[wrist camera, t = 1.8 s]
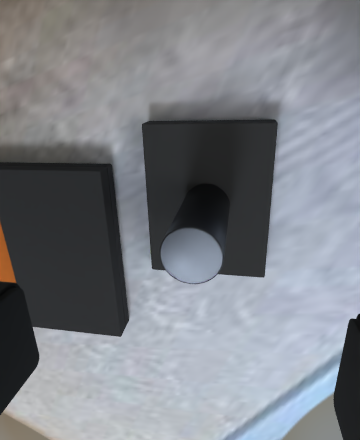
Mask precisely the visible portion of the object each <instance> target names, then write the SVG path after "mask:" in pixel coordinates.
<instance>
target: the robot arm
mask: <svg viewBox="0 0 360 440" xmlns="http://www.w3.org/2000/svg"><path fill="white" fill-rule="evenodd" d="M38 362H39V352H38V348H37V344H36V340H35V336H34V331H33V327H32V323H31V319H30V315H29V311H28V306H27V302H26V298H25V294H24V291H23V289H21V288H20V286H19V285H18V284H17V283H13V282H1V281H0V415H1V413H2V412H3V411H4V409H5V408H6V407H7V406H8V404H9V403H10V402H11V400H12V399H13V398H14V396H15V395H16V394H17V392H18V391H19V390H20V388H21V387H22V386H23V384H24V383H25V382H26V380H27V379H28V378H29V376H30V375H31V374H32V372H33V371H34V370H35V368H36V367H37V365H38ZM334 407H335V412H336V416H337V419H338V423H339V426H340V430H341V433H342V437H343V440H360V314H358V316H357V318H356V319H350V320H349V324H348V328H347V333H346V338H345V343H344V348H343V353H342V358H341V362H340V367H339V372H338V377H337V382H336V387H335V392H334Z"/></svg>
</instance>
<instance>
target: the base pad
mask: <svg viewBox="0 0 360 440" xmlns="http://www.w3.org/2000/svg"><path fill="white" fill-rule="evenodd" d="M0 281H1V282H13V283H17V284H18V285H19V286H20V288H21V289H23V291H24V294H25V298H26V302H27V306H28V311H29V315H30V319H31V323H32V327H40V328H49V329H58V330H67V331H75V332H84V333H93V334H102V335H110V336H119V337H121V336H122V333H123V331H124V329H125V327H126V325H127V323H128V321H129V317H128V308H127V298H126V289H125V280H124V271H123V262H122V253H121V244H120V235H119V226H118V217H117V208H116V199H115V190H114V181H113V172H112V165H111V164H69V163H0Z"/></svg>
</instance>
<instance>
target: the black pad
mask: <svg viewBox="0 0 360 440" xmlns="http://www.w3.org/2000/svg"><path fill="white" fill-rule="evenodd" d="M277 124H278V123H277V122H276V121H275V120H210V121H149V122H146V123H143V124H142V132H143V146H144V160H145V174H146V188H147V202H148V217H149V231H150V245H151V259H152V269H156V270H166V271H167V272H168V273H169V274H170V275H171V276H172V277H174V278H175V279H177V280H179V281H181V282H184V283H189V284H200V283H204V282H207V281H209V280H211V279H212V278H214V277H215V276H216V275H217V274H224V275H237V276H251V277H265V265H266V253H267V241H268V230H269V218H270V206H271V195H272V183H273V171H274V159H275V148H276V136H277Z"/></svg>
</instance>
